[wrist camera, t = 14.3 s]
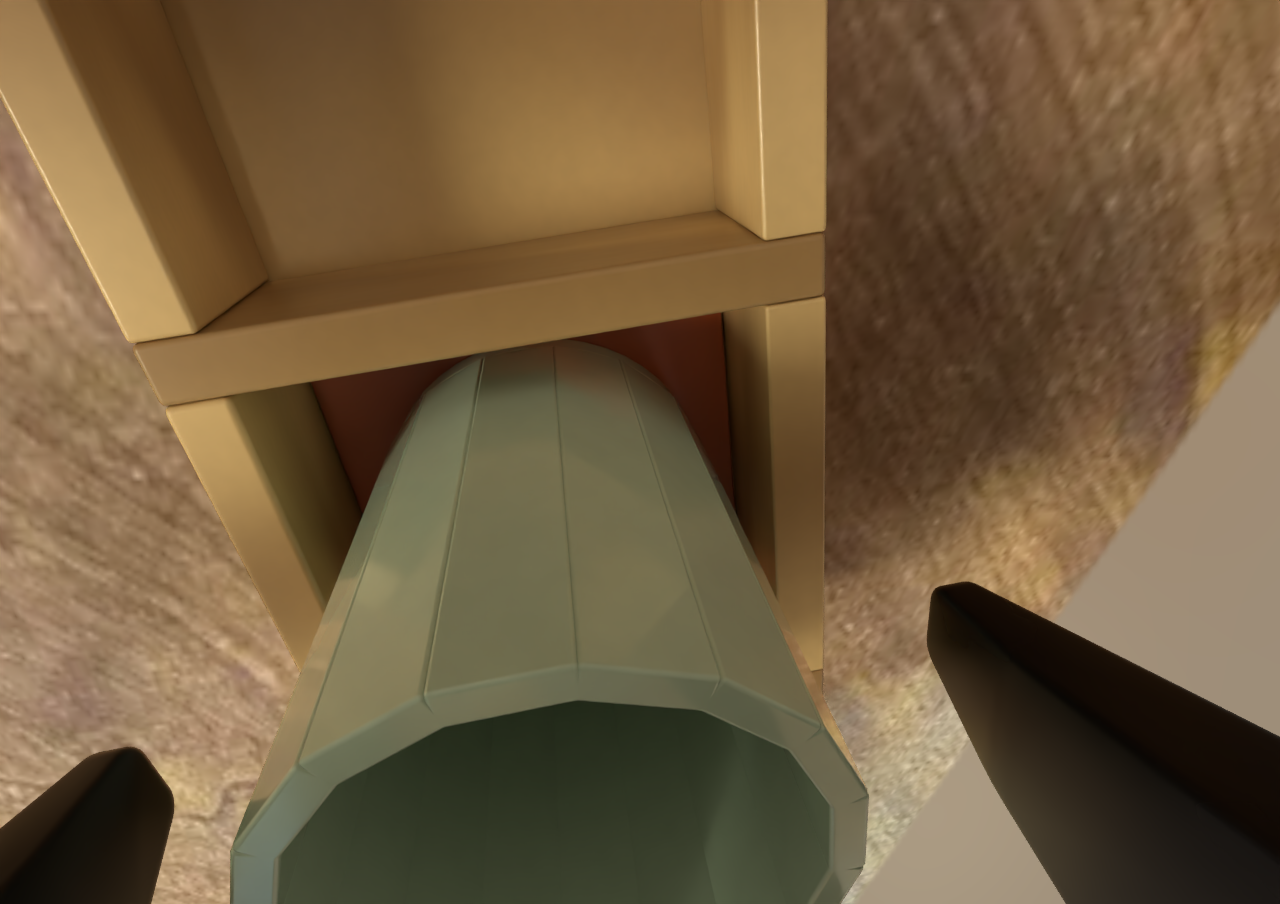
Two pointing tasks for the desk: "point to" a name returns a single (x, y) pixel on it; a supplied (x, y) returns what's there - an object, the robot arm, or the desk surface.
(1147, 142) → the desk surface
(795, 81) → the rack
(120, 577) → the desk surface
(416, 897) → the cup
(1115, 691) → the robot arm
